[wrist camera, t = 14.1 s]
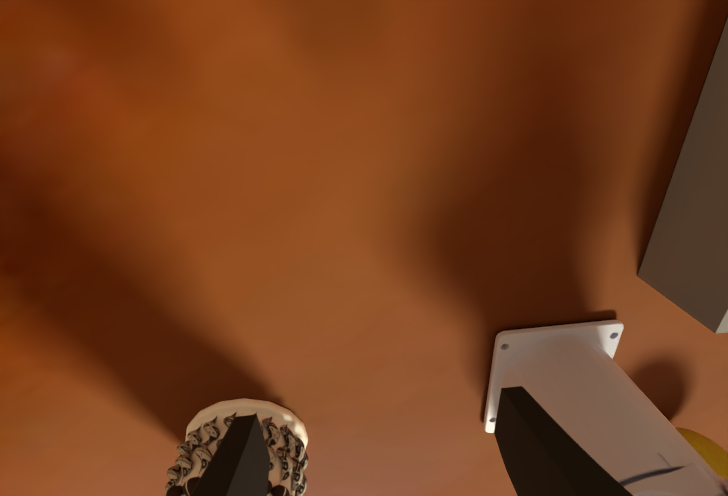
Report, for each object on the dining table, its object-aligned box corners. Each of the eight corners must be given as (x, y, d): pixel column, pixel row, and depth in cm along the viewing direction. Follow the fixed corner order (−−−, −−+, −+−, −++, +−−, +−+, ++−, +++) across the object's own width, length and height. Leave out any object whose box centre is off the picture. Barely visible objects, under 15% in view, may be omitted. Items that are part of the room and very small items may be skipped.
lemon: (619, 456, 30) (704, 577, 23) (614, 418, 28) (708, 541, 21) (687, 435, 30) (796, 554, 23) (688, 394, 27) (812, 513, 20)
